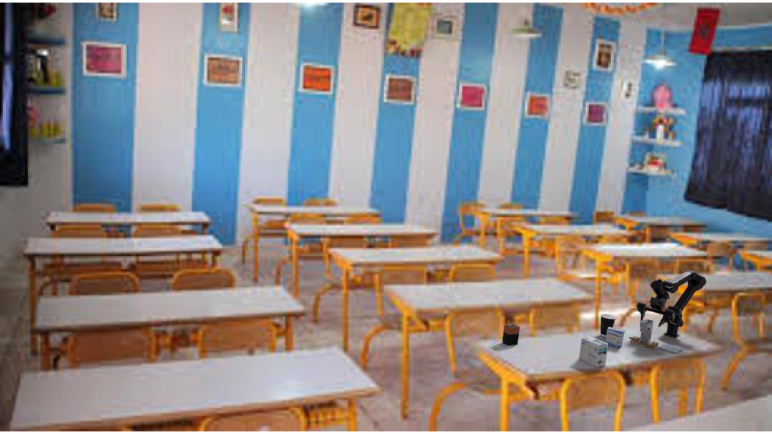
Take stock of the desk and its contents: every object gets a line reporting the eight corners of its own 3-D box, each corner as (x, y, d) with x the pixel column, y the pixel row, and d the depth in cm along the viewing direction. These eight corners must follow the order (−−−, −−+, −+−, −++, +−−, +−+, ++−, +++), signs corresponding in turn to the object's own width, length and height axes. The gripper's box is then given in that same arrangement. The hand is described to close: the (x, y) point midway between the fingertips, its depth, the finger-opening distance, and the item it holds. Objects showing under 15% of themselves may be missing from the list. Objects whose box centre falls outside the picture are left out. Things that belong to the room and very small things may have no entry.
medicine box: (604, 344, 333) (607, 328, 332) (606, 342, 337) (608, 326, 336) (620, 348, 330) (623, 332, 328) (622, 346, 334) (624, 329, 332)
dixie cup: (595, 335, 346) (598, 315, 344) (599, 332, 353) (602, 312, 351) (611, 339, 342) (614, 319, 340) (614, 335, 349) (617, 316, 347)
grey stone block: (642, 342, 342) (645, 318, 340) (649, 344, 339) (653, 320, 337) (636, 345, 336) (640, 321, 334) (644, 348, 333) (648, 323, 331)
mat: (663, 345, 341) (664, 343, 341) (681, 350, 335) (682, 348, 335) (657, 348, 334) (658, 347, 334) (676, 354, 328) (676, 352, 328)
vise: (631, 338, 346) (631, 334, 346) (657, 346, 337) (658, 342, 337) (626, 341, 342) (627, 336, 341) (653, 349, 333) (654, 344, 332)
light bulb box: (605, 365, 304) (609, 343, 302) (596, 367, 301) (599, 345, 299) (587, 357, 313) (590, 335, 311) (578, 359, 309) (581, 337, 308)
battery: (501, 342, 323) (504, 323, 321) (512, 341, 326) (515, 322, 324) (506, 345, 319) (509, 326, 317) (518, 344, 322) (520, 325, 320)
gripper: (640, 287, 347) (629, 310, 341) (676, 296, 335) (666, 320, 329) (643, 299, 354) (632, 322, 348) (679, 308, 342) (668, 332, 336)
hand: (649, 324), depth 340 cm, fingers open, 9 cm apart
